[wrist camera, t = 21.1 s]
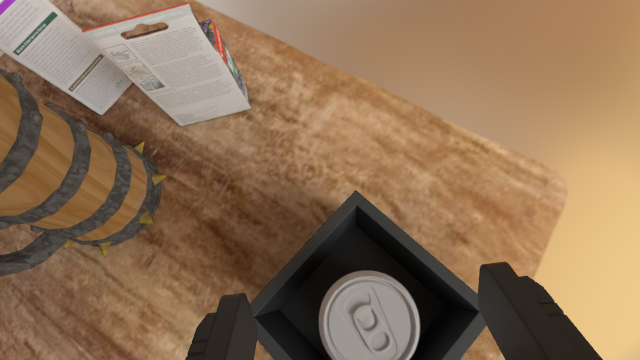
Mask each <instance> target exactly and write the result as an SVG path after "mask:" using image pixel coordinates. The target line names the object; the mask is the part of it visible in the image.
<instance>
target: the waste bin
mask: <svg viewBox="0 0 640 360" xmlns="http://www.w3.org/2000/svg"><path fill="white" fill-rule="evenodd" d="M361 269H372V270H378V271H381V272H384V273H387V274H389V275H391V276H393V277H394V278H396V279H397V280H398V281H400V282H401V283H402V284H403V285H404V286H405V287H406V288H407V290H408V291H409V292H410V294H411V295H412V297H413V299H414V301H415V303H416V305H417V308H418V311H419V315H420V322H421V332H420V339H419V343H418V346H417V349H416V351H415V353H414V355H413V357H412V358H411V359H410V360H460V359H461V358H462V357H463V355H464V354H465V353H466V351H467V350H468V349H469V348H470V346H471V345H472V344H473V342H474V341H475V340H476V339H477V337H478V336H479V335H480V333H481V332H482V331H483V330H484V328H485V327H486V326H487V325H486V323H485V321H484V319H483V317H482V315H481V312H480V309H479V305H478V294H477V293H476V292H474V291H473V290H472V289H471V288H470V287H469V286H467V285H466V284H465V283H464V282H463V281H462V280H460V279H459V278H458V277H457V276H456V275H455V274H453V273H452V272H451V271H450V270H449V269H448V268H446V267H445V266H444V265H443V264H442V263H441V262H439V261H438V260H437V259H436V258H435V257H434V256H432V255H431V254H430V253H429V252H428V251H427V250H425V249H424V248H423V247H422V246H421V245H419V244H418V243H417V242H416V241H415V240H414V239H412V238H411V237H410V236H409V235H408V234H407V233H405V232H404V231H403V230H402V229H401V228H400V227H398V226H397V225H396V224H395V223H394V222H393V221H391V220H390V219H389V218H388V217H387V216H386V215H384V214H383V213H382V212H381V211H380V210H379V209H377V208H376V207H375V206H374V205H373V204H372V203H370V202H369V201H368V200H367V199H366V198H364V197H363V196H362V195H361V194H360V193H359V192H358V191H354V193H353V194H352V195H351V196H350V197H349V198H348V199H347V200H346V201H345V202H344V203H343V204H342V205H341V207H340V208H339V209H338V210H337V211H336V212H335V213H334V214H333V215H332V216H331V217H330V218H329V219H328V220H327V222H326V223H325V224H324V225H323V226H322V227H321V228H320V229H319V230H318V231H317V232H316V233H315V234H314V236H313V237H312V238H311V239H310V240H309V241H308V242H307V243H306V244H305V245H304V246H303V247H302V248H301V250H300V251H299V252H298V253H297V254H296V255H295V256H294V257H293V258H292V259H291V260H290V261H289V262H288V263H287V265H286V266H285V267H284V268H283V269H282V270H281V271H280V272H279V273H278V274H277V275H276V276H275V277H274V279H273V280H272V281H271V282H270V283H269V284H268V285H267V286H266V287H265V288H264V289H263V290H262V291H261V293H260V294H259V295H258V296H257V297H256V298H255V299H254V300H253V301H252V302H251V303H250V304H249V305H250V308H251V311H252V314H253V317H254V320H255V323H256V329H257V340H258V341H259V342H260V343H261V345H262V346H263V347H264V348H265V349H266V350H267V351H268V353H269V354H270V355H271V356H272V357H273V358H274V359H275V360H331V359H330V357H329V356H328V355H327V353H326V351H325V350H324V348H323V345H322V343H321V340H320V337H319V332H318V311H319V307H320V303H321V301H322V298H323V296H324V294H325V293H326V291H327V290H328V288H329V287H330V286H331V285H332V284H333V283H334V282H335V281H336V280H337V279H338V278H340V277H341V276H343V275H345V274H347V273H349V272H352V271H355V270H361Z"/></svg>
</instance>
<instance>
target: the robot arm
mask: <svg viewBox="0 0 640 360" xmlns="http://www.w3.org/2000/svg"><path fill="white" fill-rule="evenodd" d="M478 305H479V309H480V312H481V315H482V317H483V319H484V321H485V323H486V325H487V326H488V328H489V330H490V332H491V334H492V336H493V338H494V339H495V341H496V343H497V345H498V347H499V349H500V350H501V352H502V354H503V356H504V358H505V360H603V359H602V358H601V357H600V356H599V355H598V353H597V352H596V351H595V350H594V349H593V347H592V346H591V345H590V344H589V342H588V341H587V340H586V339H585V338H584V337H583V335H582V334H581V333H580V332H579V330H578V329H577V328H576V327H575V325H574V324H573V323H572V322H571V321H570V319H569V318H568V317H567V316H566V315H564V313H563V311H562V309H561V308H560V307H559V306H558V305H557V303H555V302H554V300H553V299H552V297H551V296H550V295H549V294H548V292H547V291H546V290H545V289H544V287H542V286H541V285H540V284H538V283H537V282H535V281H534V280H532V279H531V278H529V277H528V276H522V277H518V276H517V274H516V273H515V272H514V270H513V269H512V268H511V266H510V265H509V264H508V263H507V262H499V263H491V264H483V265H481V267H480V274H479V287H478ZM256 342H257V329H256V323H255V320H254V317H253V314H252V311H251V308H250V305H249V302H248V299H247V296H246V294H245V293H241V294H233V295H225V296H222V297H221V299H220V302H219V305H218V309H217V312H216V313H208V314H207V315H206V316H205V318H204V319H203V320H202V322H201V323H200V324H199V325H198V327H197V329H196V332H195V335H194V337H193V340H192V344H191V345H190V348H189V351H188V356H187V357H186V359H185V360H254V354H255V348H256Z"/></svg>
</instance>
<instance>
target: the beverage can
mask: <svg viewBox="0 0 640 360" xmlns="http://www.w3.org/2000/svg"><path fill="white" fill-rule="evenodd" d="M318 332H319V337H320V340H321V343H322V345H323V348H324V350H325V351H326V353H327V355H328V356H329V357H330V359H331V360H410V359H411V358H412V357H413V355H414V353H415V351H416V349H417V346H418V343H419V339H420V332H421V322H420V315H419V311H418V308H417V305H416V303H415V301H414V299H413V297H412V295H411V294H410V292H409V291H408V290H407V288H406V287H405V286H404V285H403V284H402V283H401V282H400V281H398V280H397V279H396V278H394V277H393V276H391V275H389V274H387V273H384V272H381V271H378V270H372V269H361V270H355V271H352V272H349V273H347V274H345V275H343V276H341V277H340V278H338V279H337V280H336V281H335V282H334V283H333V284H332V285H331V286H330V287H329V288H328V290H327V291H326V293H325V294H324V296H323V298H322V301H321V303H320V307H319V311H318Z"/></svg>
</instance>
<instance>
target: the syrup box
mask: <svg viewBox="0 0 640 360" xmlns="http://www.w3.org/2000/svg"><path fill="white" fill-rule="evenodd" d="M0 50H1V51H3V52H4V53H5V54H7V55H9V56H10V57H12V58H13V59H15V60H16V61H18V62H19V63H21V64H22V65H24V66H25V67H27V68H28V69H30V70H31V71H33V72H34V73H36V74H37V75H39V76H40V77H42V78H43V79H45V80H46V81H48V82H50V83H51V84H53V85H54V86H56V87H57V88H59V89H60V90H62V91H63V92H65V93H66V94H68V95H70V96H71V97H73V98H74V99H76V100H77V101H79V102H80V103H82V104H83V105H85V106H86V107H88V108H89V109H91V110H93V111H94V112H96V113H97V114H99V115H103V114H104V113H105V112H106V111H107V110H108V109H109V108H110V107H111V106H112V105H113V104H114V103H115V102H116V101H117V100H118V99H119V98H120V96H121V95H122V94H123V93H124V92H125V91H126V90H127V89H128V87H129V86H130V85H131V84H132V83H133V82H132V81H131V80H129V79H128V78H127V77H126V74H125V73H124V72H123V71H122V70H121V69H120V68H119V67H118V66H117V65H116V64H115V63H114V62H113V61H111V60H110V59H109V58H108V57H107V56H106V55H105V54H104V53H103V52H102V51H101V50H100V49H99V48H98V47H97V46H96V45H95V44H94V43H93V42H92V41H90V40H89V39H88V38H87V36H86V35H85V34H84V33H83V32H82V30H81V29H80V28H79V27H78V26H77V25H76V24H75V23H74V22H72V21H71V20H70V19H69V18H68V17H67V16H66V15H65V14H64V13H62V12H61V11H60V10H59V9H58V8H57V7H56V6H55V5H53V4H52V3H51V2H50V1H49V0H0Z"/></svg>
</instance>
